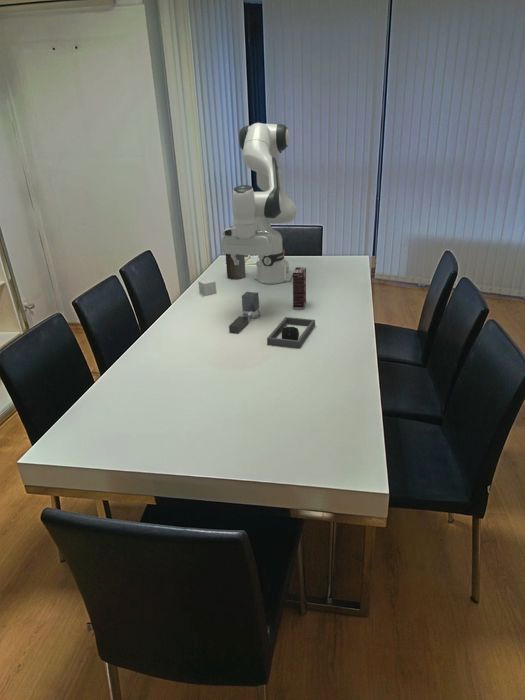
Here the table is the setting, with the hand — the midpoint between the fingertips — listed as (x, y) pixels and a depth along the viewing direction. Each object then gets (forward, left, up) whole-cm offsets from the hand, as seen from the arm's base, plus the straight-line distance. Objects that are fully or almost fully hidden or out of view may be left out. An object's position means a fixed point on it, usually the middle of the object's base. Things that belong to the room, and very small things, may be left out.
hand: (247, 265), depth 193 cm
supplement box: (-15, +17, -21) cm, 31 cm away
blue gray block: (+1, +1, -18) cm, 18 cm away
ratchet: (+8, +1, -21) cm, 23 cm away
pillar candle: (-48, -27, -21) cm, 59 cm away
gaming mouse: (+18, +23, -22) cm, 37 cm away
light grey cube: (-21, -30, -21) cm, 43 cm away
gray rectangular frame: (+15, +23, -21) cm, 34 cm away
